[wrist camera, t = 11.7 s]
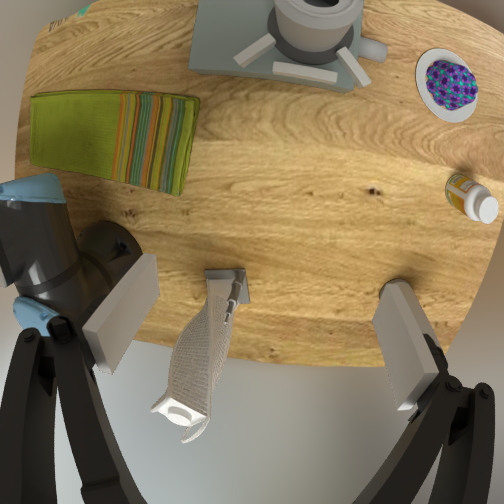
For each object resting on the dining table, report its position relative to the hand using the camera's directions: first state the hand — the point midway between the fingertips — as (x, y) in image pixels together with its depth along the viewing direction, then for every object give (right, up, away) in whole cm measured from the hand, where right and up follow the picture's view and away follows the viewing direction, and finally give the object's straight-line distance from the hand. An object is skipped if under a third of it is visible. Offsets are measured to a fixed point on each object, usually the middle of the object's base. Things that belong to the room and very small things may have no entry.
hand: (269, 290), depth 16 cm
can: (+6, +28, +9) cm, 30 cm away
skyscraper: (-6, -5, +35) cm, 36 cm away
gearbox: (+5, +31, +15) cm, 35 cm away
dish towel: (-27, +22, +25) cm, 43 cm away
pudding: (+28, +27, +14) cm, 42 cm away
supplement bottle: (+32, +12, +21) cm, 40 cm away
